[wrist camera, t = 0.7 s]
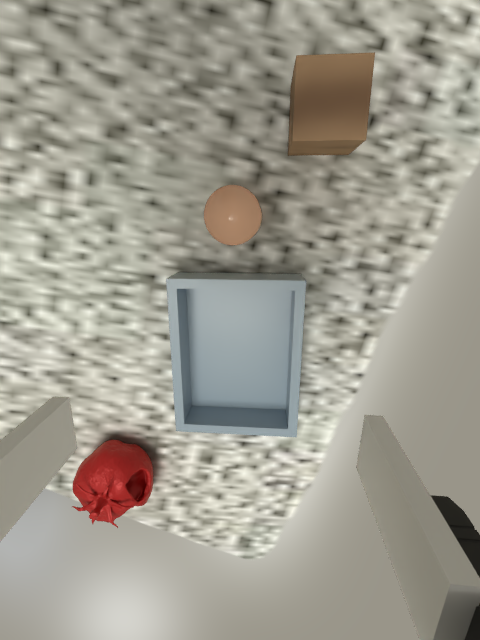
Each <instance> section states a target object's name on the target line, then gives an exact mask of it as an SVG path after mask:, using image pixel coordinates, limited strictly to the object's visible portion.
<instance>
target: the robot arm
mask: <svg viewBox="0 0 480 640" xmlns="http://www.w3.org/2000/svg"><path fill="white" fill-rule="evenodd" d="M76 449H77V442H76V436H75V430H74V424H73V418H72V411H71V405H70V399H69V397H52V398H51V399H49V400H48V401H47V402H46V403H45V404H44V405H42V406H41V407H40V408H39V409H38V410H36V411H35V412H34V413H33V414H32V415H30V416H29V417H28V418H27V419H26V420H24V421H23V422H22V423H21V424H20V425H18V426H17V427H16V428H15V429H14V430H12V431H11V432H10V433H9V434H8V435H6V436H5V437H4V438H3V439H2V440H0V542H1V540H2V539H3V538H4V537H5V536H6V534H7V533H8V532H9V531H10V529H11V528H12V527H13V526H14V525H15V523H16V522H17V521H18V520H19V518H20V517H21V516H22V515H23V514H24V512H25V511H26V510H27V509H28V507H29V506H30V505H31V504H32V503H33V501H34V500H35V499H36V498H37V497H38V495H39V494H40V493H41V492H42V490H43V489H44V488H45V487H46V486H47V484H48V483H49V482H50V481H51V479H52V478H53V477H54V476H55V475H56V473H57V472H58V471H59V470H60V469H61V467H62V466H63V465H64V464H65V462H66V461H67V460H68V459H69V458H70V456H71V455H72V454H73V453H74V451H75V450H76ZM356 468H357V471H358V473H359V476H360V479H361V482H362V484H363V487H364V490H365V493H366V495H367V498H368V501H369V503H370V506H371V509H372V512H373V514H374V517H375V520H376V523H377V525H378V528H379V531H380V533H381V536H382V539H383V542H384V544H385V547H386V550H387V553H388V555H389V558H390V561H391V564H392V566H393V569H394V572H395V575H396V577H397V580H398V583H399V585H400V588H401V591H402V594H403V596H404V599H405V602H406V604H407V607H408V610H409V613H410V616H411V618H412V621H413V624H414V627H415V629H416V632H417V635H418V637H419V640H480V535H479V533H478V532H477V530H475V529H474V526H473V524H472V523H471V521H470V520H469V518H468V517H467V515H466V514H465V512H464V511H463V510H462V509H461V508H460V507H458V506H457V505H456V504H455V503H454V502H453V501H452V500H451V499H450V498H448V497H444V496H431V495H430V494H429V492H428V491H427V489H426V487H425V486H424V484H423V482H422V480H421V479H420V477H419V475H418V474H417V472H416V470H415V469H414V467H413V466H412V464H411V462H410V460H409V459H408V457H407V455H406V454H405V452H404V450H403V449H402V447H401V445H400V444H399V442H398V440H397V439H396V437H395V436H394V434H393V432H392V430H391V428H390V427H389V425H388V423H387V422H386V420H385V419H384V417H383V416H374V415H365V416H364V422H363V428H362V435H361V441H360V447H359V454H358V461H357V466H356Z"/></svg>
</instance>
